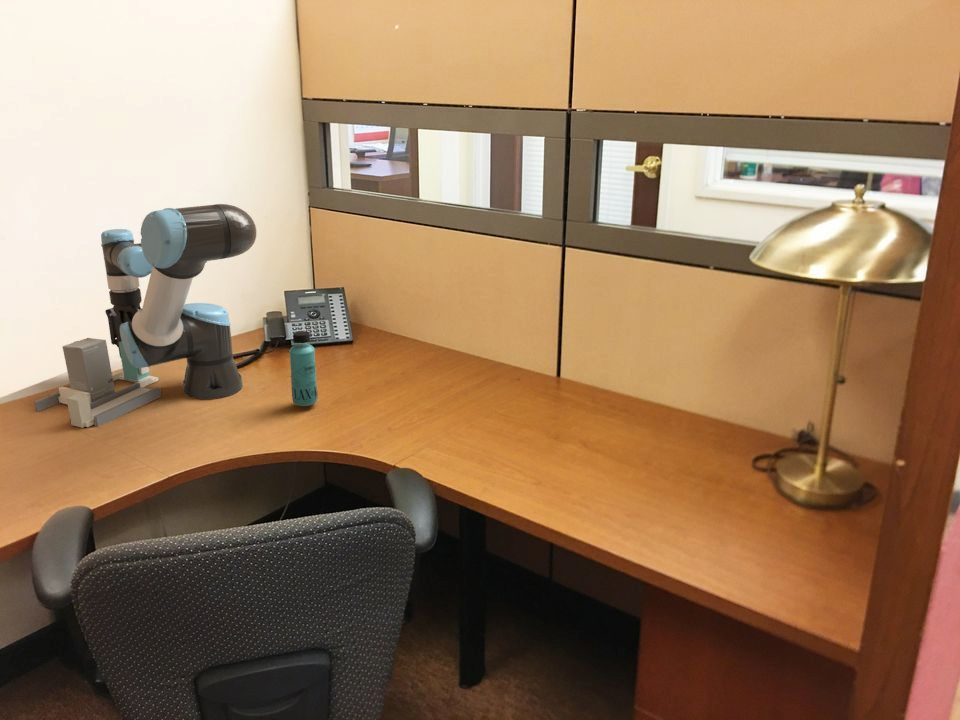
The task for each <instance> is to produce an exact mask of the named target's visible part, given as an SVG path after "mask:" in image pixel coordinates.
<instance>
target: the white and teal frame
mask: <svg viewBox="0 0 960 720" xmlns="http://www.w3.org/2000/svg"><path fill="white" fill-rule="evenodd" d="M119 348H120V354H121V358H120V359H121V367H122V370H121V371H118V372H115V373H113V374H112V377H113V382H115V381H117V380H120V381H121V380H122V381H126V382H130V383H131V382H132V383H134V384H135V383H140V387H142V388H145V387H147V386H149V385H151V384H153V383H155V382H157V381H159V377H158V376H152V375H150V371H149V372H147V373H145V374H142V375H141V374H140V372H139V368H135V367H134V366H133V365H132V364H131V363H130V361H129V359H128V357H127V355H126V352H125V349H124V347H123V343H122V341H121V342H119ZM119 348H118V349H119ZM120 354H119V355H120ZM58 392H60V397H58V399H59V403H58V404H60V403H61V404H64V405H68V403H67V398H68V397H70V396H73V395H75V394H81V395H85V396H88V397H89V403H92V402H91V396H90V393H88V392H84V391H79V390H75V389H71V388H69V387H65V386H59V387H58Z"/></svg>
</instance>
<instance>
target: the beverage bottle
mask: <svg viewBox="0 0 960 720" xmlns="http://www.w3.org/2000/svg"><path fill="white" fill-rule="evenodd" d="M292 340H293V343H295V344H294V345H293V346H291V347H290V348H289V361H290V363H289V365H290V377H291V378H290V385H291V400H292V402H293V404H294V405H296V406H300V407H305V406H312V405H314V404H316V403H317V401H318V398H319V397H318V394H319V393H318V391H319V390H318V384H317V363H316V354H315V353H316V352H315V351H316V348H315V347H314V346H313V345H312V344H310V343H309V342H310V341H311V337H310V333H309V331H306V330H299V331H296V332H293V335H292Z"/></svg>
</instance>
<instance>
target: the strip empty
mask: <svg viewBox="0 0 960 720" xmlns="http://www.w3.org/2000/svg"><path fill="white" fill-rule="evenodd" d="M150 390H152V389H151V388H146V387H140V388H138V389H136V390H133V391H131V392H129V393H127V394H125V395H122V396H120V397H118V398H116V399H113V400H111V401H109V402H107V403H105V404H102V405H100V406H98V407H96V408H93V409H91V408H90V403H89V397H88V396H85V395H81V394H75V395H73V396H70V397H68V398H67V403H68V404H67V408H68V413H69V418H70V425H71V426H74V427H78V428H81V429H83V428H85V427H86V428H89V427H91V426H94V425H95V421H94V416H95V415H97V414H100V413H102V412H104V411H106V410H108V409H111V408H113V407H115V406H117V405H119V404H121V403H124V402H126V401H128V400H130V399H132V398H134V397H137V396H139V395H141V394H143V393H145V392H147V391H150Z"/></svg>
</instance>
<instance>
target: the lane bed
mask: <svg viewBox="0 0 960 720" xmlns="http://www.w3.org/2000/svg"><path fill="white" fill-rule="evenodd" d="M68 388H71V387H70V386H69V387H68ZM138 388H140V383H135V382H134V383H132V384H131V385H127V386H126V387H124V388H121V389H119V390H116V391H115V392H114V393H112V394H110V395H107V396H105V397H103V398H101V399H98V400H96V401H94V402H92V403H90V408H91V409H93V408H96V407H98V406H100V405H102V404H105V403H107V402H109V401H111V400H113V399H116V398H118V397H120V396H122V395H125V394H127V393H129V392H131V391H133V390H136V389H138ZM161 392H162V391H161V388H160V387H159V386H156V387H154V388H152V389H151V390H150V391H147V392H145V393H143V394H141V395H139V396H137V397H134V398H132V399H130V400H128V401H126V402H124V403H121V404H119V405H117V406H115V407H113V408H111V409H108V410H106V411H104V412H102V413H100V414H97V415H95V416H94V421H95V424H94V426H95V427H101V426H103V425H104V424H107V423H109V422H111V421H113V420H115V419H117V418H119V417H121V416H123V415H125V414H128V413H130V412H131V411H134V410H135V409H138V408H140V407H142V406H144V405H146V404H148V403H151V402H153V401H155V400H156V399H158V398H161V397H162V393H161ZM58 397H60V392H59V391H57V392H54V393H52V394H49V395H47V396H45V397H42V398H39V399H37V400H35V401H34V407H35V411H36V412H42V411H44V410H47V409H49V408H50V407H52V406H56V405H57V404H60V403H59V399H58Z"/></svg>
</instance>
